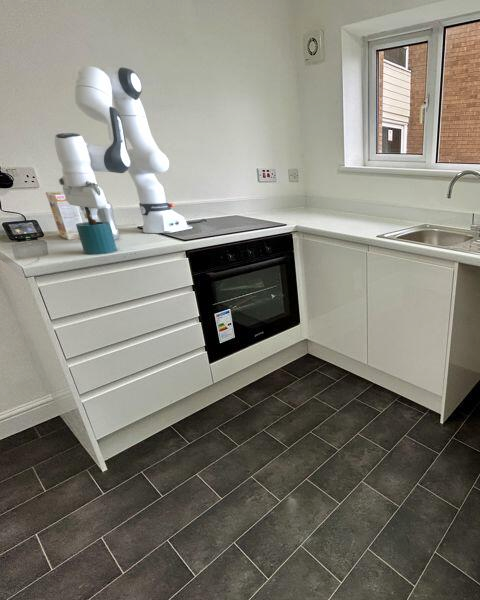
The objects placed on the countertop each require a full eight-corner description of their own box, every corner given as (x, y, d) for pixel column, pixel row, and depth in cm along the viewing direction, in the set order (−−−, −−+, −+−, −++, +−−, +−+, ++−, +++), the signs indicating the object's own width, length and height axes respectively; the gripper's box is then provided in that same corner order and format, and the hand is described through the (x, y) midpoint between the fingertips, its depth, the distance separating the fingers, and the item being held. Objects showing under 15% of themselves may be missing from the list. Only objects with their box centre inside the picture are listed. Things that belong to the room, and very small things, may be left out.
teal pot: (107, 247, 145) (100, 220, 141) (122, 250, 142) (115, 223, 138) (79, 252, 137) (70, 223, 133) (93, 255, 133) (85, 226, 129)
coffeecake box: (59, 235, 164) (44, 191, 156) (78, 233, 169) (65, 191, 162) (67, 240, 155) (53, 194, 148) (88, 237, 161) (75, 193, 154)
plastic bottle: (109, 241, 155) (96, 195, 147) (99, 240, 157) (86, 194, 149) (124, 239, 160) (113, 194, 153) (114, 237, 162) (102, 193, 155)
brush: (101, 243, 141) (90, 201, 135) (107, 244, 139) (95, 202, 133) (89, 245, 137) (77, 202, 131) (95, 246, 136) (83, 203, 130)
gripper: (106, 182, 128) (116, 220, 133) (76, 179, 136) (86, 215, 141) (86, 182, 123) (97, 222, 128) (55, 179, 131) (67, 217, 136)
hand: (91, 218), depth 135 cm, fingers closed on brush, 2 cm apart
